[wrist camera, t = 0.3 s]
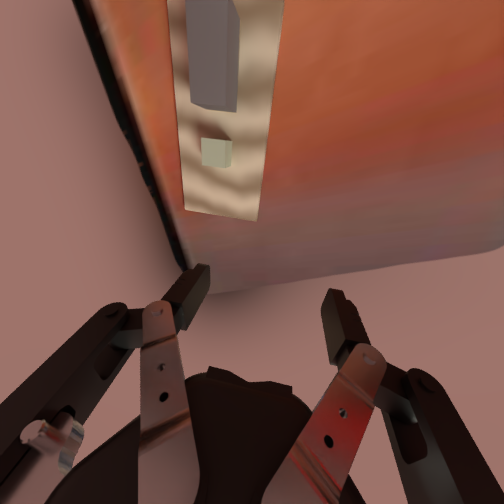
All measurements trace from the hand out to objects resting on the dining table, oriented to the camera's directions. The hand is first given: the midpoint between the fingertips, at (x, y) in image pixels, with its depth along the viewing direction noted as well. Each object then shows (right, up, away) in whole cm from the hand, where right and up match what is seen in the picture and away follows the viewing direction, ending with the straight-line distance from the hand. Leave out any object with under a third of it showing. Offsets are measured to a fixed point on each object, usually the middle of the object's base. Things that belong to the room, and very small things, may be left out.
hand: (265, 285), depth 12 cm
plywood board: (-6, +23, +20) cm, 32 cm away
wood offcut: (-7, +20, +21) cm, 30 cm away
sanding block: (-5, +30, +15) cm, 34 cm away
